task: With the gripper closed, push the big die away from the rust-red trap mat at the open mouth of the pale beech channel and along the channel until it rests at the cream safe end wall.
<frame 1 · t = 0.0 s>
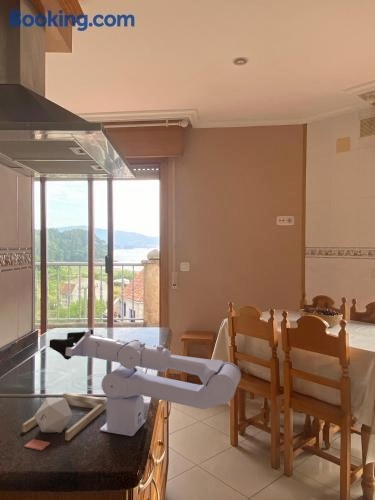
hand: (59, 339, 100), 22 cm above the counter, tool horizontal, fingers open, 7 cm apart
channel: (65, 420, 98), on the counter
die: (53, 430, 93), on the counter
trap mat: (37, 445, 86), on the counter
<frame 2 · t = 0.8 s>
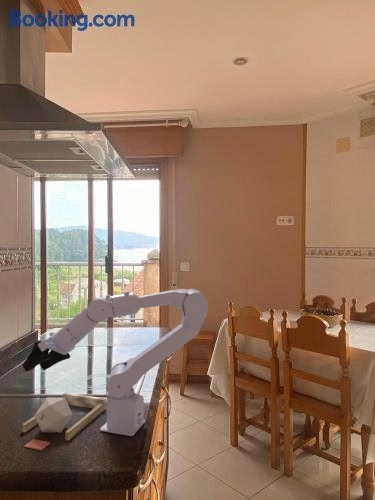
hand: (33, 367, 92), 16 cm above the counter, tool tilted 50°, fingers open, 7 cm apart
nothing on the counter moved.
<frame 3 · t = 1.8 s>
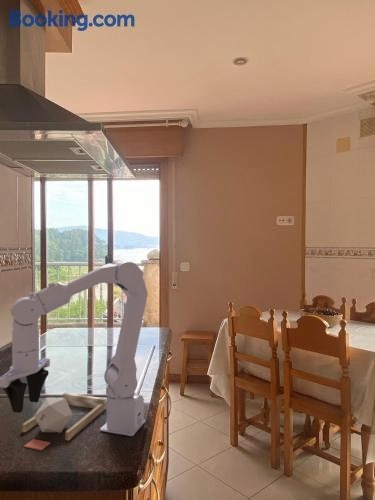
hand: (26, 406, 83), 10 cm above the counter, tool pointing down, fingers open, 5 cm apart
nothing on the counter moved.
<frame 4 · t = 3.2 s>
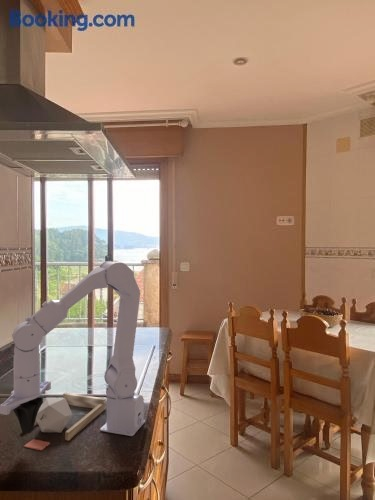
hand: (27, 431, 84), 4 cm above the counter, tool pointing down, fingers closed
nothing on the counter moved.
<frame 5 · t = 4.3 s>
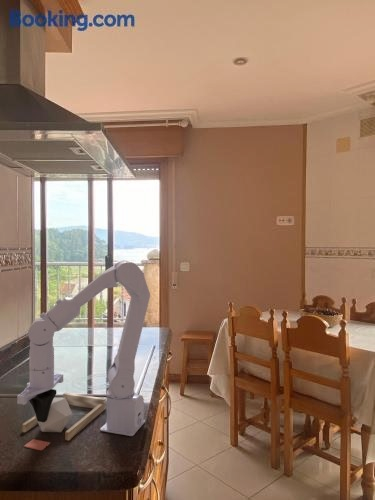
hand: (42, 420, 89), 4 cm above the counter, tool pointing down, fingers closed
die: (54, 429, 93), on the counter, touching gripper
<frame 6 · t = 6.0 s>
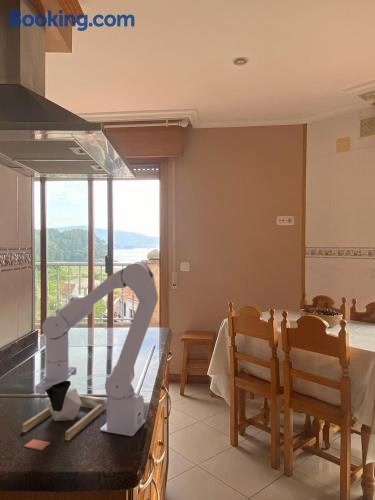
hand: (57, 410, 95), 4 cm above the counter, tool pointing down, fingers closed
die: (65, 418, 99), on the counter, touching gripper
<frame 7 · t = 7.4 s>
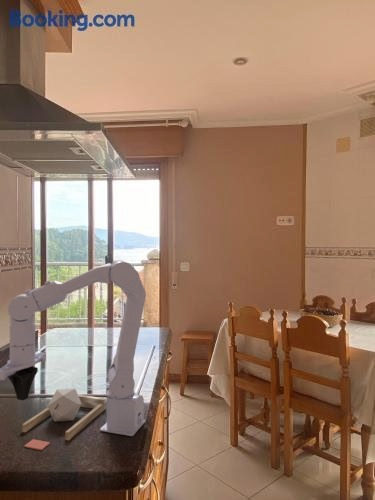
hand: (22, 398, 87), 11 cm above the counter, tool pointing down, fingers closed
die: (65, 419, 99), on the counter
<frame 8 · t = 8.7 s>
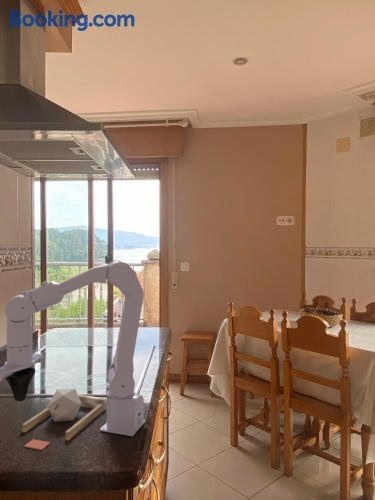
hand: (20, 399, 87), 10 cm above the counter, tool pointing down, fingers closed
nothing on the counter moved.
at the end: die 1.7 cm from the target spot, on the counter; die tilted 0°; die touching counter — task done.
